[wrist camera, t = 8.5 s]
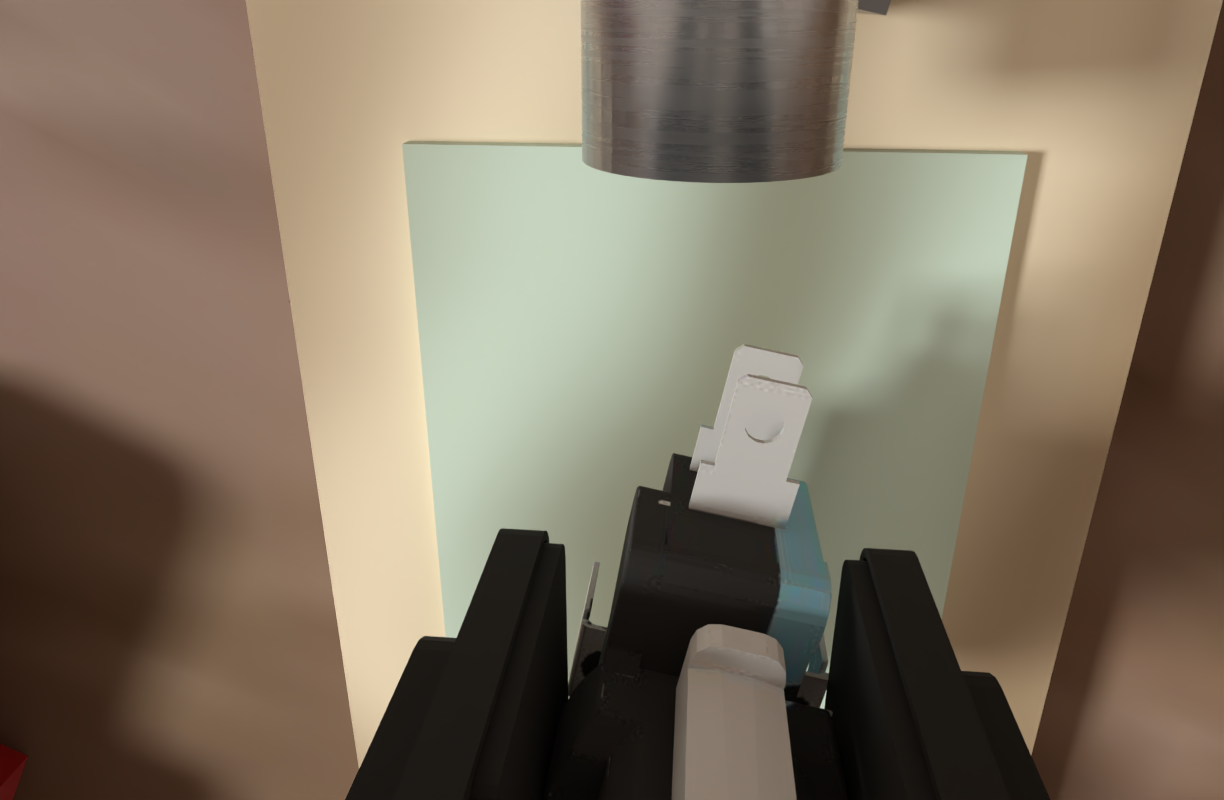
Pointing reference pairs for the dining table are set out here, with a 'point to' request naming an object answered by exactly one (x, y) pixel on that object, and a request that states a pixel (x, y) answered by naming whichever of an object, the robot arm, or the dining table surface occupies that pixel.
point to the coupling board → (718, 302)
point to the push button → (712, 623)
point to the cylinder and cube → (717, 87)
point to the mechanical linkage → (10, 771)
